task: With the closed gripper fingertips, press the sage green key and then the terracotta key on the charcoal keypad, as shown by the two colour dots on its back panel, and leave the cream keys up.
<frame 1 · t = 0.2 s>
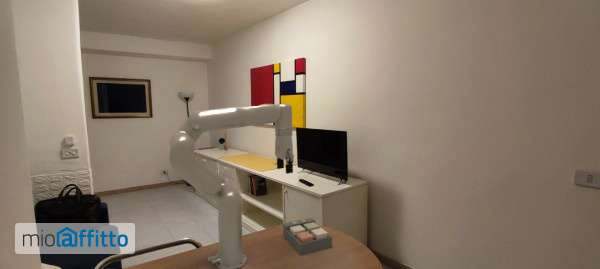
hand: (284, 170, 127), 36 cm above the table, tool pointing down, fingers open, 9 cm apart
key cream right: (319, 233, 132), point 6 cm above the table, slide at 0.0 cm
key sage: (311, 227, 139), point 6 cm above the table, slide at 0.0 cm
keypad: (308, 243, 135), on the table
key terracotta: (304, 237, 129), point 6 cm above the table, slide at 0.0 cm
key cream left: (297, 230, 136), point 6 cm above the table, slide at 0.0 cm
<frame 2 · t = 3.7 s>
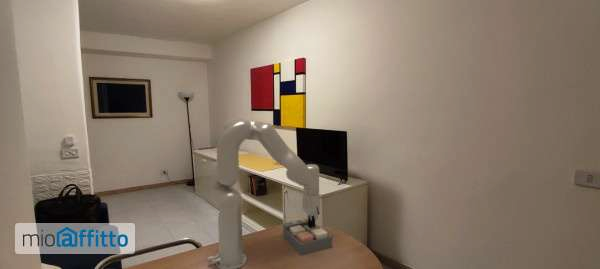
hand: (311, 226, 139), 6 cm above the table, tool pointing down, fingers closed
key sage: (311, 228, 139), point 5 cm above the table, slide at 0.8 cm, touching gripper
everything else where it was.
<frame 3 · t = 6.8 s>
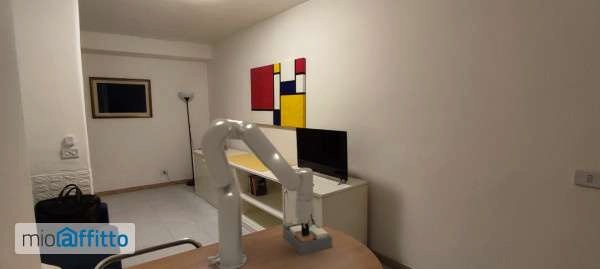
hand: (305, 235, 129), 6 cm above the table, tool pointing down, fingers closed
key sage: (311, 229, 139), point 4 cm above the table, slide at 1.3 cm
key terracotta: (304, 237, 129), point 5 cm above the table, slide at 0.2 cm, touching gripper
everything else where it was.
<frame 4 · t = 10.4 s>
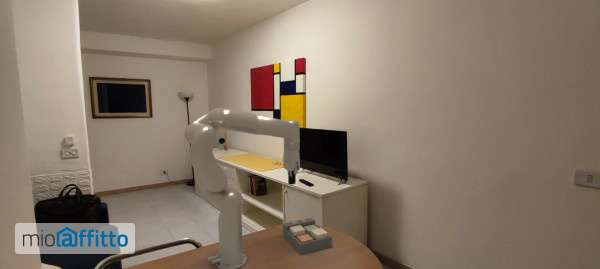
hand: (291, 183, 138), 27 cm above the table, tool pointing down, fingers closed
key terracotta: (304, 239, 129), point 4 cm above the table, slide at 1.3 cm
everything else where it was.
at the end: key sage slide at 1.3 cm; key terracotta slide at 1.3 cm; key cream right slide at 0.0 cm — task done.
